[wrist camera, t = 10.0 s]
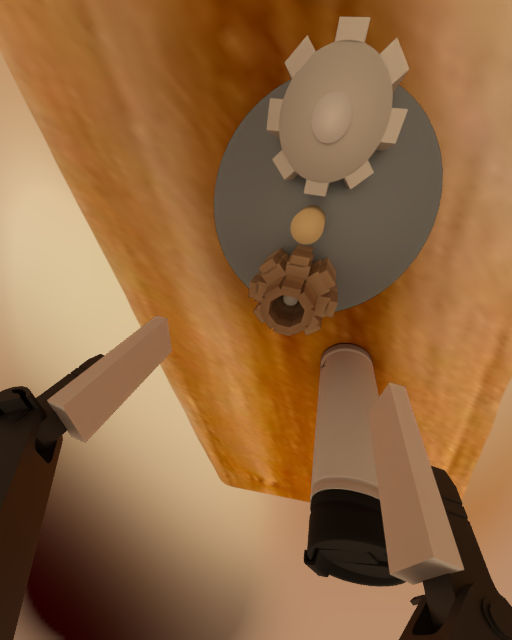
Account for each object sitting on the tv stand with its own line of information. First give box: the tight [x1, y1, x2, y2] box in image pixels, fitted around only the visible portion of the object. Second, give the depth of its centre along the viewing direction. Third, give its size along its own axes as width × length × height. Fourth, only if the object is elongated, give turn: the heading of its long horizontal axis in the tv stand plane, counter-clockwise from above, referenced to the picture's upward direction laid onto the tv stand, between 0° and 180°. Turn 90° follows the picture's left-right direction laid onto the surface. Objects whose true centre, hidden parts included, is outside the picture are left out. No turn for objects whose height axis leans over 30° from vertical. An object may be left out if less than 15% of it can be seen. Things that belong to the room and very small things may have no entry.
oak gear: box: [248, 244, 338, 336], centre depth 22 cm, size 8×8×6 cm
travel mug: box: [304, 344, 406, 586], centre depth 22 cm, size 6×7×20 cm
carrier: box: [214, 17, 443, 312], centre depth 20 cm, size 21×20×6 cm
